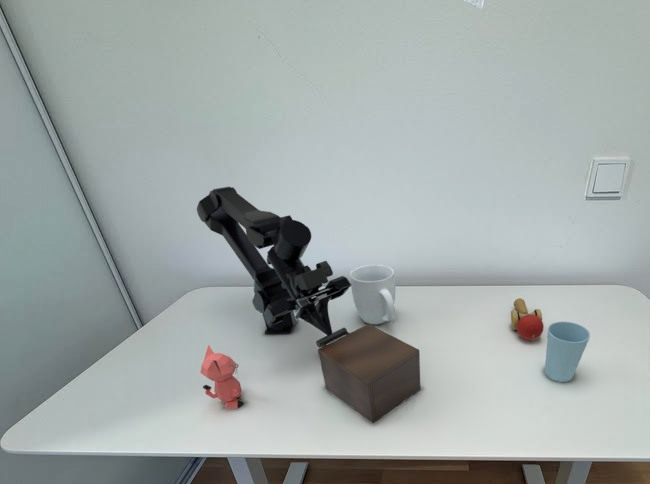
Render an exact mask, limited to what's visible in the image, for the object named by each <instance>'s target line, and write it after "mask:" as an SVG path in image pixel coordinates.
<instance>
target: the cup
mask: <svg viewBox="0 0 650 484" xmlns="http://www.w3.org/2000/svg"><path fill="white" fill-rule="evenodd" d="M546 334H547V335H546V338H547V339H546V351H545V366H544V367H545V368H544V373H545V375H546V377H547V378H548V379H550V380H552V381H555V382H558V383H567V382H569V381H571V380H572V379H573V378H574V375H575V373H576V371H577V368H578V366H579V364H580V361H581V359H582V357H583V354H584V352H585V350H586V347H587V345H588V343H589V340H590V338H591V332H590V331H589V330H588V329H587V328H586V327H585V326H583V325H580V324H579V323H576V322H571V321H556V322H553V323H551V324H550V325H548V327H547V333H546Z"/></svg>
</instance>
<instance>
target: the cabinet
mask: <svg viewBox="0 0 650 484" xmlns="http://www.w3.org/2000/svg"><path fill="white" fill-rule="evenodd" d="M318 352H319V354H318V357H320V358H319V363H320V362H321V363H320V367H322V368H321V373H322V372H323V373H322V376H324V377H323V381H324V385H325V386H324V387H325V389H326V390H328V391H329V392H331V393H332V394H333V395H335V396H336V397H337V398H338V399H340V400H341V401H342V402H344V404H346V405H347V406H349V407H350V408H352V409H353V410H354V411H356V412H357V413H358V414H360V415H361V416H363V418H365V419H366V420H368V421H369V422H371V423H372V424H374V423H375V422H377V421H378V420H380V419H381V418H383V417H384V416H386V415H387V414H388V413H390V412H391V411H393V410H394V409H395V408H396V407H398V406H399V405H401V404H402V403H403V402H405V401H406V400H408V399H409V398H410V397H412V396H413V395H414V394H416V393H417V392H419V391H420V390H421V361H420V360H421V359H420V357H421V356H420V355H421V354H420V349H419V348H416V347H415V346H413V345H411V344H409V343H407V342H405V341H403V340H401V339H399V338H397V337H395V336H393V335H392V334H390V333H388V332H386V331H384V330H382V329H380V328H378V327H376V326H374V325H373V324H368V323H366V324H365V325H363V326H361V327H359V328H357V329H355V330H353V331H351V332H349V334H347V335H344V336H342V337H341V338H339V339H337V340H335V341H333V342H331V343H329V344H327V345H325V346H323V347H321V348H319V347H318V349H317V353H318Z"/></svg>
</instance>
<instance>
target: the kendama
mask: <svg viewBox="0 0 650 484" xmlns="http://www.w3.org/2000/svg"><path fill="white" fill-rule="evenodd" d="M513 307H514V308H515V310H511V312H510V321H511V327H512V330H513V331H517V333H518V335H519V336H520V337H521V338H522V339H524V340H527V341H534V340H537V339H538V338H539V337H540V336H542V334H543V332H544V327H545V326H544V323H543V322H544V321H543V313H542V310H541V309H540V308H535V309H534V310H533V311H532V312H529V311H528V308H527V305H526V302H525V300H524V299H523V298H520V297H518V298H515V300H514V301H513Z"/></svg>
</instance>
